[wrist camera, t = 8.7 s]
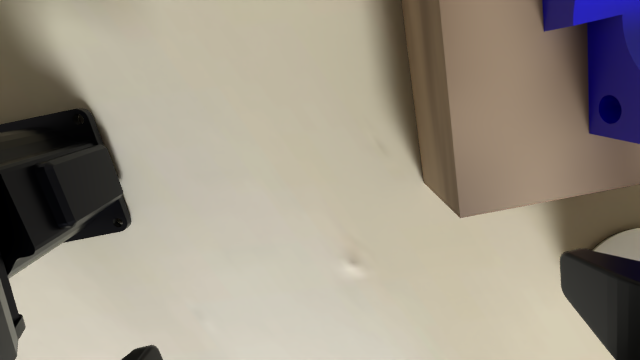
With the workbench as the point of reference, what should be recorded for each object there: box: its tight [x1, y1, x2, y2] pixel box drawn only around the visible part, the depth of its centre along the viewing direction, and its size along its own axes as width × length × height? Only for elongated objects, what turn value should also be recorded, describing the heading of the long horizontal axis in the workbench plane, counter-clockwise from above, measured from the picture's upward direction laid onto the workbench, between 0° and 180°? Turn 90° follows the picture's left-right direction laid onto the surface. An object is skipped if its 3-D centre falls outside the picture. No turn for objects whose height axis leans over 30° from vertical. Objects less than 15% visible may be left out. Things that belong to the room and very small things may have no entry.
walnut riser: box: [401, 0, 640, 218], centre depth 15 cm, size 10×12×5 cm
